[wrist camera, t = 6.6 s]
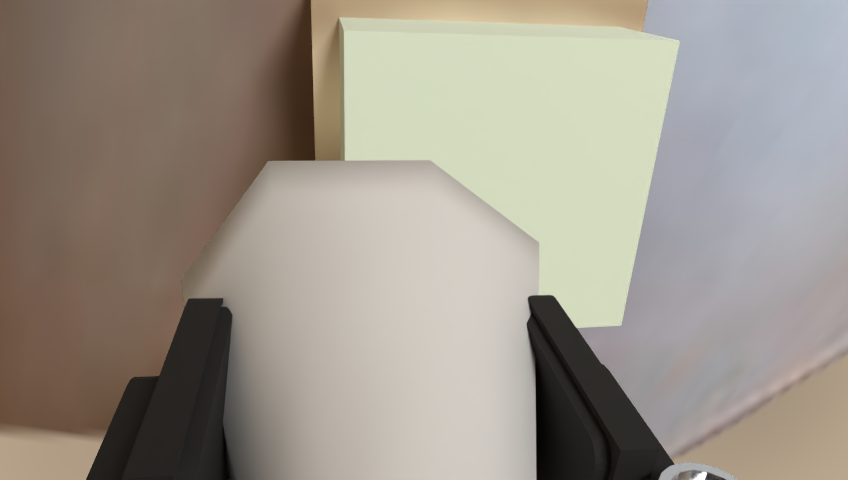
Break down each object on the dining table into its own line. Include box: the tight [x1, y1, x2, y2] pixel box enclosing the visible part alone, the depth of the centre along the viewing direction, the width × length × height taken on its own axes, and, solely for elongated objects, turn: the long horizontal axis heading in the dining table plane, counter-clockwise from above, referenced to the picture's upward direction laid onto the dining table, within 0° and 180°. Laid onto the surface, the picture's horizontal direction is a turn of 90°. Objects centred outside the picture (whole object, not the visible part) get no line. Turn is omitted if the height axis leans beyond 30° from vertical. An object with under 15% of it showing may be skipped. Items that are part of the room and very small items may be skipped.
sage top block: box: [339, 17, 680, 328], centre depth 24 cm, size 11×11×4 cm
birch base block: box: [311, 0, 648, 161], centre depth 28 cm, size 13×13×4 cm
